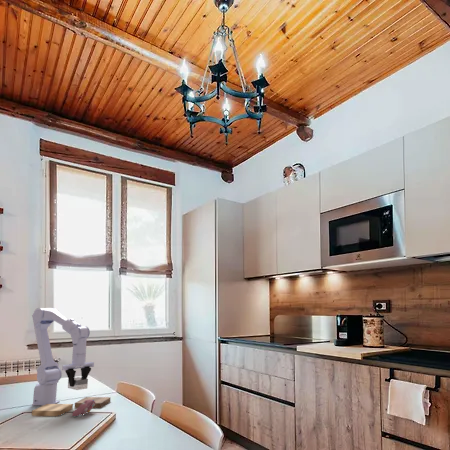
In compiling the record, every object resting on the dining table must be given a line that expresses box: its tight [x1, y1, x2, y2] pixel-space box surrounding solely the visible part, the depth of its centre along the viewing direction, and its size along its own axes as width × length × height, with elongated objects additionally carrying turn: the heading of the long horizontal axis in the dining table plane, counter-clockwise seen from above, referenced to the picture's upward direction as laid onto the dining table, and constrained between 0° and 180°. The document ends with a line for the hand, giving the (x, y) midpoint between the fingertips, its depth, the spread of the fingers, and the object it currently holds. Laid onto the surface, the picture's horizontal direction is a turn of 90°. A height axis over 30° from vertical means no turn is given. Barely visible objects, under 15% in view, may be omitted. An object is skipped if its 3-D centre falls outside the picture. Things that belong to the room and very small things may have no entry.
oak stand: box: [31, 403, 74, 417], centre depth 177 cm, size 12×12×2 cm
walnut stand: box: [74, 396, 111, 409], centre depth 190 cm, size 12×12×2 cm
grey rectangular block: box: [67, 376, 89, 391], centre depth 186 cm, size 5×8×4 cm, turn 48°
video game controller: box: [72, 399, 95, 417], centre depth 173 cm, size 10×5×7 cm, turn 169°
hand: (77, 385), depth 186 cm, fingers closed on grey rectangular block, 5 cm apart
